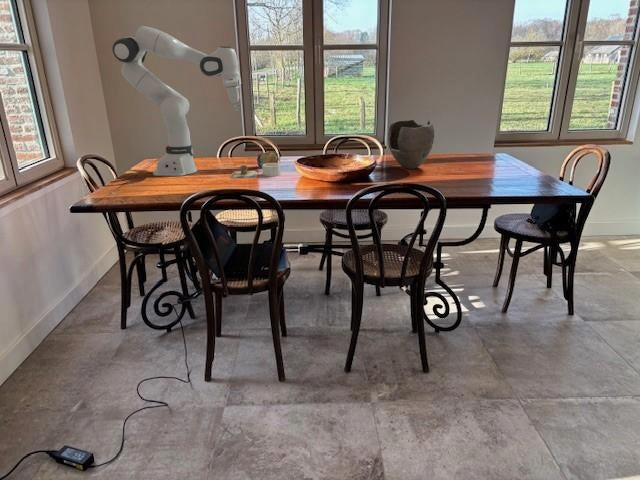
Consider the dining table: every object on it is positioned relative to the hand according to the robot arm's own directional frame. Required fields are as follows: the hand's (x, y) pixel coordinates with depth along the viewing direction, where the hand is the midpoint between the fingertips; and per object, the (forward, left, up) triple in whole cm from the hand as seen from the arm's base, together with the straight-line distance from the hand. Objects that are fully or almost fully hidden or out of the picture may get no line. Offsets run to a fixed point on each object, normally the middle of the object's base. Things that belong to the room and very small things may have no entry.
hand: (236, 110), depth 233 cm
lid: (+2, -8, -32) cm, 33 cm away
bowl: (+16, -8, -32) cm, 37 cm away
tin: (+14, +12, -32) cm, 37 cm away
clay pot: (+90, -3, -32) cm, 95 cm away
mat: (+2, -8, -32) cm, 33 cm away
